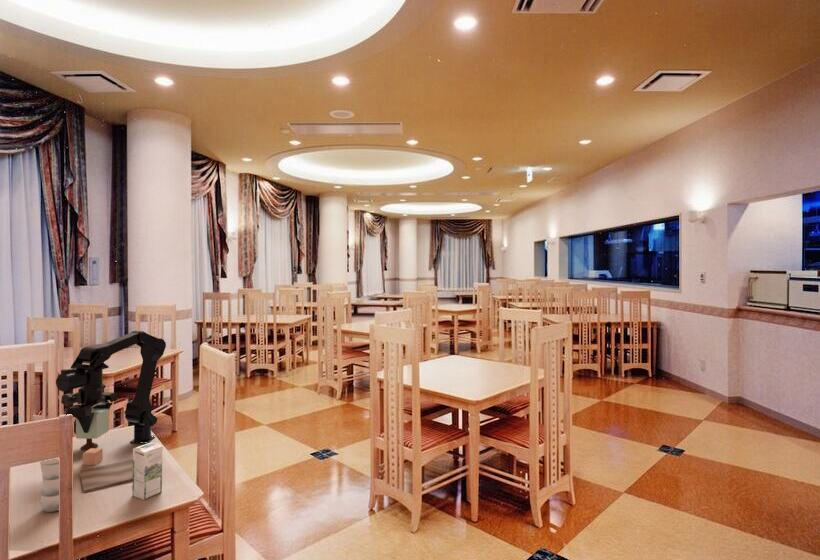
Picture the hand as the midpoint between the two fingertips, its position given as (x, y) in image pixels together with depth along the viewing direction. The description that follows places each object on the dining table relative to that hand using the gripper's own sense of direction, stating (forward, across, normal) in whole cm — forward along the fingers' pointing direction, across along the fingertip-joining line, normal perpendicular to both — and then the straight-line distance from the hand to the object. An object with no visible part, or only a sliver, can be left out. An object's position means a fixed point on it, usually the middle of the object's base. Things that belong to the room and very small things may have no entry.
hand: (92, 428), depth 158 cm
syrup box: (+12, +22, +29) cm, 38 cm away
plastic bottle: (+12, +30, +8) cm, 33 cm away
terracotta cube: (+12, 0, 0) cm, 12 cm away
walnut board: (+12, +10, +12) cm, 19 cm away
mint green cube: (+2, 0, 0) cm, 2 cm away
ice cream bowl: (+12, -12, -8) cm, 19 cm away
